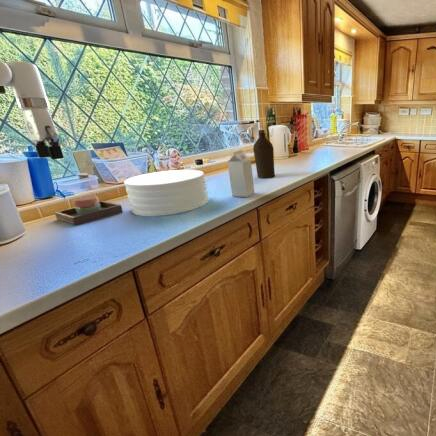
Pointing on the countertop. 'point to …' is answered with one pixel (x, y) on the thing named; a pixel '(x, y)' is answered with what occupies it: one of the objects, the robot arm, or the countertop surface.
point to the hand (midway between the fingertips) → (51, 158)
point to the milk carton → (241, 175)
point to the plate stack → (166, 192)
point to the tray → (75, 219)
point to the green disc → (88, 209)
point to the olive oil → (264, 156)
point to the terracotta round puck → (86, 201)
